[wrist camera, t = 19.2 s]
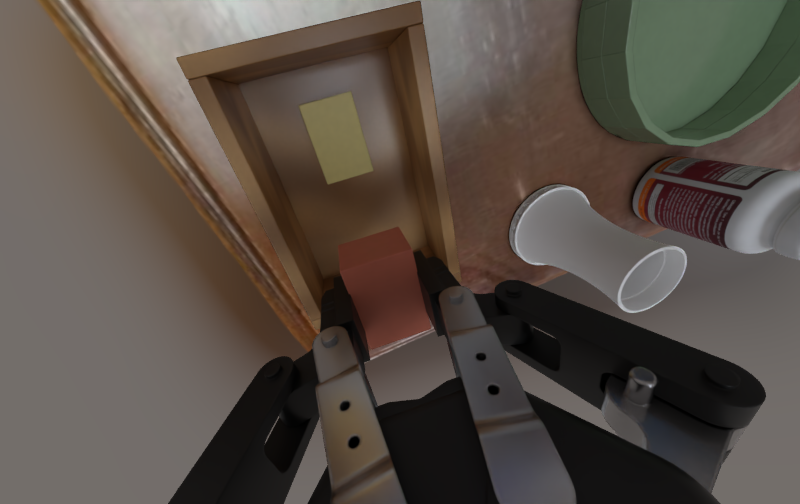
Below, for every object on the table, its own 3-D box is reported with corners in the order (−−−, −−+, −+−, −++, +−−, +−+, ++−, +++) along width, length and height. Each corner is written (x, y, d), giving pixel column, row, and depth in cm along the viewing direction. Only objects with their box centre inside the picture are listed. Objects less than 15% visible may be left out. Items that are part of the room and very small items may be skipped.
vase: (551, 268, 29) (647, 336, 20) (494, 249, 26) (576, 318, 18) (596, 200, 26) (728, 245, 18) (538, 171, 24) (660, 207, 15)
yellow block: (301, 105, 18) (297, 105, 15) (348, 92, 18) (351, 90, 16) (327, 176, 20) (327, 185, 18) (368, 164, 20) (373, 171, 18)
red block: (337, 244, 13) (339, 271, 11) (398, 225, 13) (412, 248, 11) (364, 316, 15) (371, 350, 13) (417, 298, 16) (431, 329, 13)
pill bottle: (650, 227, 30) (805, 284, 20) (617, 204, 27) (774, 256, 18) (697, 173, 28) (892, 207, 18) (665, 142, 25) (871, 163, 16)
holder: (220, 72, 16) (174, 57, 12) (394, 30, 17) (420, -1, 12) (318, 285, 24) (315, 330, 19) (435, 247, 25) (461, 281, 20)
